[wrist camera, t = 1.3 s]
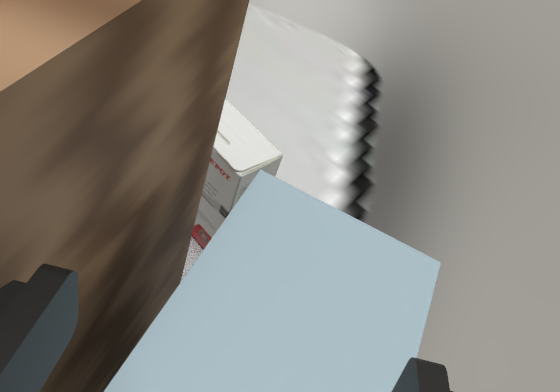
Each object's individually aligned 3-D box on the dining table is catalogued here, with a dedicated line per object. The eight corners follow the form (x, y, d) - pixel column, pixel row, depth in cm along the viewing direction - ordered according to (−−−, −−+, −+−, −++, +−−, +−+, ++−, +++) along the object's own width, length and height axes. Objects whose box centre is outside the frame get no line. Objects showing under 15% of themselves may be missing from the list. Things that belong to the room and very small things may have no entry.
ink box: (254, 241, 50) (288, 155, 42) (213, 264, 48) (241, 177, 39) (200, 181, 53) (222, 89, 45) (159, 199, 51) (173, 104, 42)
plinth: (6, 563, 31) (-245, 250, 7) (-137, 476, 31) (-760, -51, 8) (170, 320, 43) (269, -83, 20) (65, 262, 44) (42, -190, 21)
